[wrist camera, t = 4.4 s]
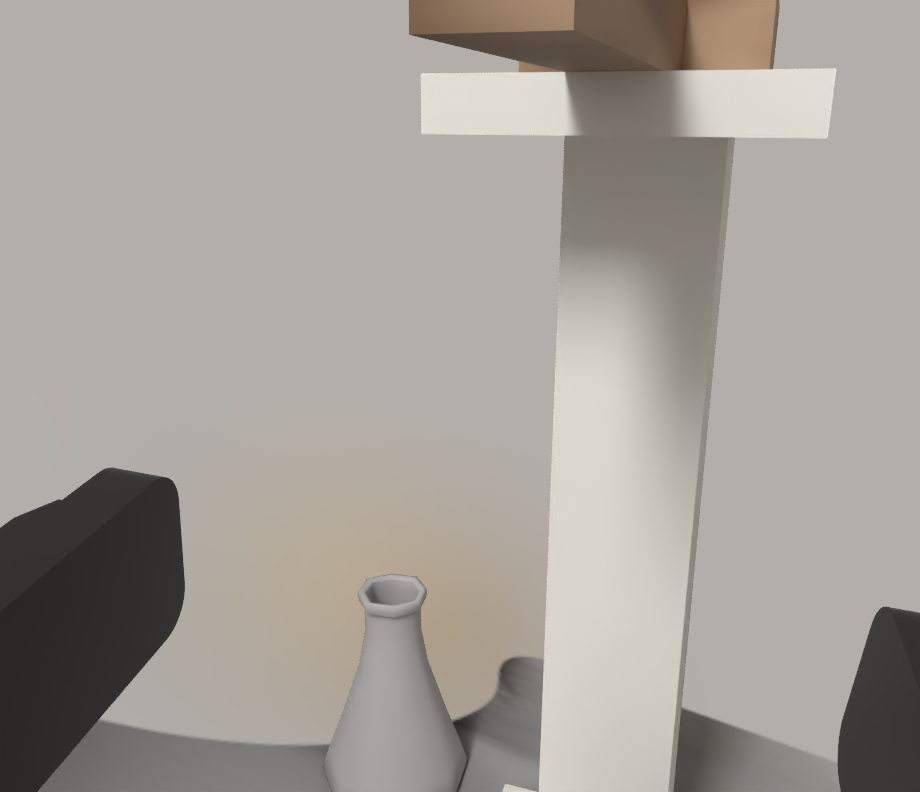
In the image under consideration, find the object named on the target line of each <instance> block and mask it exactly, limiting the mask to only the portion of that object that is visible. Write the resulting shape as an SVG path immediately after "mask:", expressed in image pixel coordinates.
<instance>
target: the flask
mask: <svg viewBox="0 0 920 792" xmlns="http://www.w3.org/2000/svg"><path fill="white" fill-rule="evenodd" d="M426 595H427V589H426V588H425V587H424V585H423V584H422V583H421V581H420V580H419V579H418V578H417V577H414V576H405V575H397V574H388V575H383V576H378V577H373V578H368V579H367V580H366V581H365V583H364V584H363V585H362V587H361V588H360V590H359V591H358V598H359V601H360V602H361V604H362V606H363V607H364V609H365V633H364V640H363V645H362V651H361V657H360V663H359V666H358V669H357V672H356V675H355V678H354V681H353V684H352V687H351V689H350V692H349V695H348V698H347V701H346V704H345V707H344V710H343V713H342V715H341V718H340V720H339V723H338V726H337V728H336V731H335V733H334V736H333V739H332V741H331V744H330V746H329V749H328V752H327V755H326V757H325V760H324V763H323V766H322V768H323V770H324V772H325V775H326V777H327V780H328V782H329V785H330V787H331V790H332V792H457V789H458V786H459V783H460V780H461V777H462V774H463V771H464V768H465V765H466V762H467V757H466V754H465V751H464V749H463V746H462V744H461V741H460V739H459V737H458V734H457V732H456V730H455V727H454V725H453V723H452V720H451V718H450V716H449V714H448V711H447V709H446V706H445V704H444V701H443V699H442V696H441V694H440V691H439V688H438V686H437V683H436V680H435V678H434V675H433V673H432V670H431V667H430V665H429V662H428V659H427V654H426V649H425V644H424V640H423V635H422V630H421V606H422V604H423V602H424V600H425V598H426Z"/></svg>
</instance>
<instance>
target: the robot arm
mask: <svg viewBox="0 0 920 792" xmlns="http://www.w3.org/2000/svg"><path fill="white" fill-rule="evenodd" d="M184 592H185V581H184V567H183V553H182V538H181V525H180V510H179V498H178V492H177V488H176V486H175V484H174V483H173V481H172V480H170V479H169V478H165V477H160V476H155V475H149V474H144V473H138V472H132V471H128V470H122V469H116V468H107V469H104V470H102V471H100V472H99V473H97V474H96V475H95V476H93V477H92V478H91V479H90V480H88V481H87V482H86V483H84V484H83V485H82V486H80V487H79V488H78V489H76V490H75V491H74V492H72V493H71V494H70V495H68V496H67V497H66V498H64V499H63V500H56V501H54V502H52V503H49V504H47V505H44V506H42V507H39V508H37V509H35V510H32V511H30V512H27V513H25V514H22V515H20V516H18V517H15V518H13V519H12V520H10V521H9V522H8V523H6V524H5V525H4V526H2V527H1V528H0V792H37V791H38V790H39V789H40V788H41V786H42V785H43V784H44V783H45V782H46V781H47V779H48V778H49V777H50V776H51V775H52V774H53V772H54V771H55V770H56V769H57V768H58V767H59V765H60V764H61V763H62V762H63V761H64V759H65V758H66V757H67V756H68V755H69V754H70V752H71V751H72V750H73V749H74V748H75V747H76V745H77V744H78V743H79V742H80V741H81V740H82V738H83V737H84V736H85V735H86V734H87V732H88V731H89V730H90V729H91V728H92V727H93V725H94V724H95V723H96V722H97V721H98V720H99V718H100V717H101V716H102V715H103V714H104V712H105V711H106V710H107V709H108V707H110V705H111V704H112V703H113V702H114V701H115V700H116V698H117V697H118V696H119V695H120V694H121V693H122V691H123V690H124V689H125V688H126V687H127V686H128V684H129V683H130V682H131V681H132V680H133V678H134V677H135V676H136V675H137V673H139V671H140V670H141V669H142V668H143V667H144V666H145V664H146V663H147V662H148V660H150V659H151V657H152V656H153V655H154V654H155V653H156V651H157V650H158V649H159V648H160V647H161V646H162V644H163V643H164V642H165V641H166V640H167V638H168V637H169V636H170V634H171V632H172V631H173V629H174V627H175V625H176V623H177V621H178V618H179V615H180V612H181V609H182V605H183V600H184ZM838 775H839V783H840V788H841V792H920V613H917V612H912V611H906V610H901V609H895V608H890V607H882V608H881V609H880V610H879V611H878V612H877V614H876V615H875V617H874V620H873V622H872V625H871V628H870V631H869V635H868V638H867V641H866V645H865V648H864V651H863V654H862V658H861V661H860V664H859V667H858V671H857V674H856V677H855V680H854V684H853V687H852V690H851V693H850V697H849V700H848V703H847V707H846V710H845V713H844V716H843V720H842V724H841V729H840V736H839V744H838Z"/></svg>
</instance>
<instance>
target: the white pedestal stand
mask: <svg viewBox="0 0 920 792" xmlns="http://www.w3.org/2000/svg"><path fill="white" fill-rule="evenodd" d="M835 75H836V69H759V70H677V71H596V72H518V73H517V72H514V73H434V74H421V134H474V135H475V134H476V135H480V134H481V135H565V140H564V166H563V191H562V216H561V242H560V268H559V293H558V319H557V345H556V371H555V394H554V421H553V445H552V470H551V497H550V521H549V548H548V573H547V597H546V623H545V648H544V674H543V699H542V724H541V750H540V775H539V792H673V790H674V780H675V769H676V758H677V748H678V737H679V726H680V716H681V705H682V694H683V684H684V673H685V663H686V652H687V641H688V631H689V620H690V610H691V599H692V588H693V578H694V577H693V576H694V566H695V557H696V546H697V535H698V525H699V514H700V503H701V493H702V481H703V471H704V461H705V450H706V439H707V429H708V419H709V407H710V397H711V387H712V376H713V365H714V355H715V354H714V353H715V344H716V333H717V322H718V311H719V302H720V290H721V280H722V269H723V259H724V249H725V238H726V227H727V216H728V206H729V195H730V184H731V174H732V164H733V153H734V141H735V137H751V138H754V137H755V138H758V137H759V138H761V137H762V138H828V132H829V123H830V115H831V107H832V99H833V90H834V83H835ZM502 792H535V791H531V790H527V789H524V788H520V787H516V786H512V785H508V784H505V786H504V789H503V791H502Z"/></svg>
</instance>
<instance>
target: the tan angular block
mask: <svg viewBox="0 0 920 792" xmlns="http://www.w3.org/2000/svg"><path fill="white" fill-rule="evenodd" d="M778 16H779V0H409V34H410V35H413V36H417V37H421V38H425V39H429V40H434V41H438V42H442V43H446V44H450V45H455V46H459V47H463V48H467V49H471V50H475V51H480V52H484V53H488V54H492V55H496V56H501V57H505V58H509V59H513V60H517V61H519V72H596V71H677V70H759V69H773V64H774V55H775V45H776V36H777V26H778Z"/></svg>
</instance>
